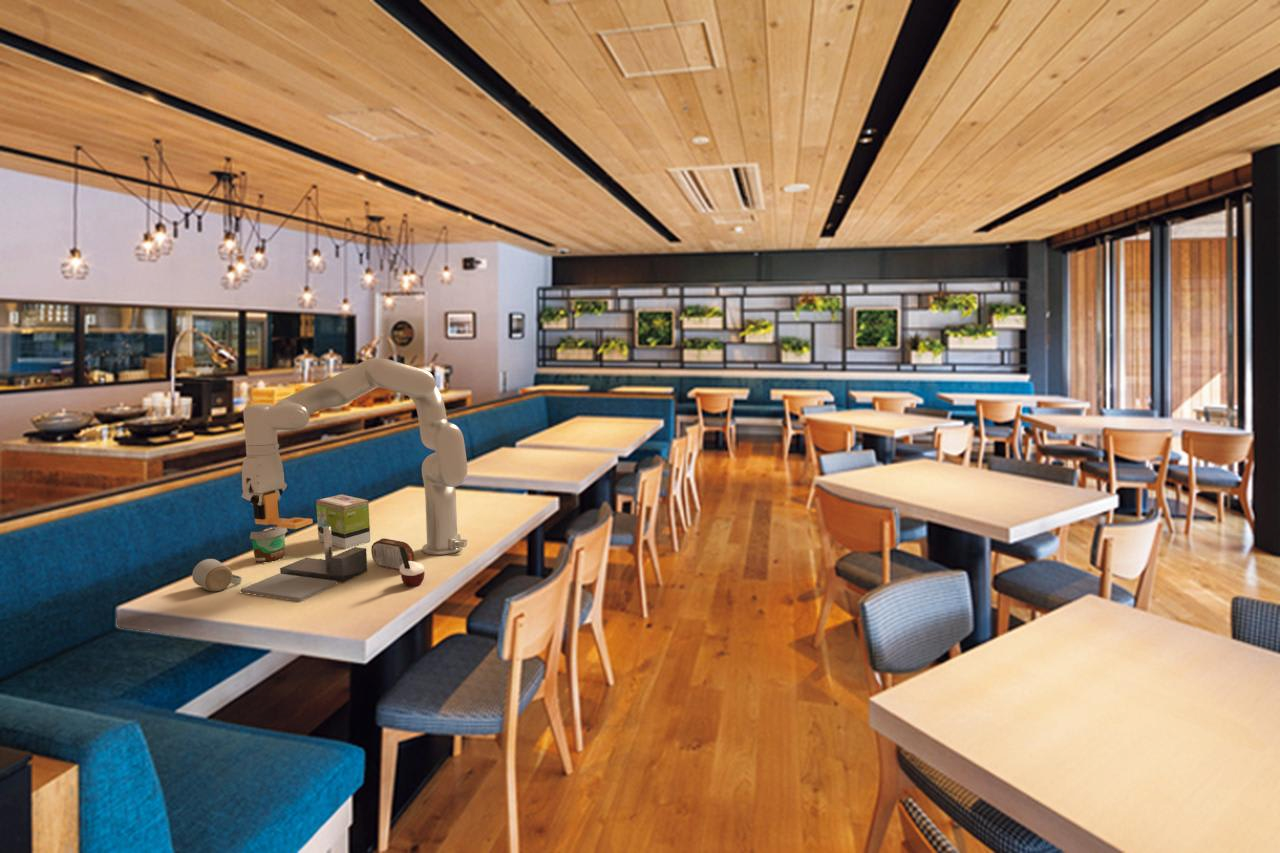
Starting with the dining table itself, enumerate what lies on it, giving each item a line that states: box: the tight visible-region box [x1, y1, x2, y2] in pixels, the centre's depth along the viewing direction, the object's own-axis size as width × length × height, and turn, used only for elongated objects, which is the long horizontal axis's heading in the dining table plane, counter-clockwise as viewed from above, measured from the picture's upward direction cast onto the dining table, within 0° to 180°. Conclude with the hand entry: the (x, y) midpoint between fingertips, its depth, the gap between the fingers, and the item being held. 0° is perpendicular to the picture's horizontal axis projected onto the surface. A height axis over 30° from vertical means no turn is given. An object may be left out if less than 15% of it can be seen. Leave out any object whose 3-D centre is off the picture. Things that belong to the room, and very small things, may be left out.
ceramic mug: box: [191, 558, 243, 592], centre depth 187 cm, size 11×8×8 cm
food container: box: [249, 525, 288, 564], centre depth 210 cm, size 12×6×10 cm, turn 168°
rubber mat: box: [239, 573, 337, 602], centre depth 186 cm, size 20×13×1 cm, turn 73°
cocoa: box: [399, 547, 426, 587], centre depth 189 cm, size 10×6×12 cm, turn 146°
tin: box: [370, 538, 415, 571], centre depth 202 cm, size 15×3×8 cm, turn 65°
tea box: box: [315, 493, 371, 550], centre depth 228 cm, size 15×10×15 cm, turn 58°
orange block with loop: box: [254, 492, 314, 530], centre depth 183 cm, size 14×6×8 cm, turn 73°
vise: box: [279, 526, 368, 584], centre depth 197 cm, size 22×10×14 cm, turn 73°
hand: (266, 516), depth 185 cm, fingers closed on orange block with loop, 4 cm apart
